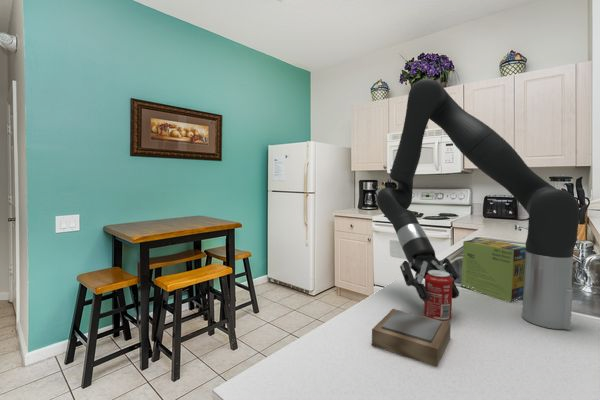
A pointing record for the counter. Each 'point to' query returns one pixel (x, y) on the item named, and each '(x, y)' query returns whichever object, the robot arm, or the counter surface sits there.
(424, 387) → the counter surface
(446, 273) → the beverage can
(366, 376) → the counter surface
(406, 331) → the walnut plinth
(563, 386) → the counter surface
